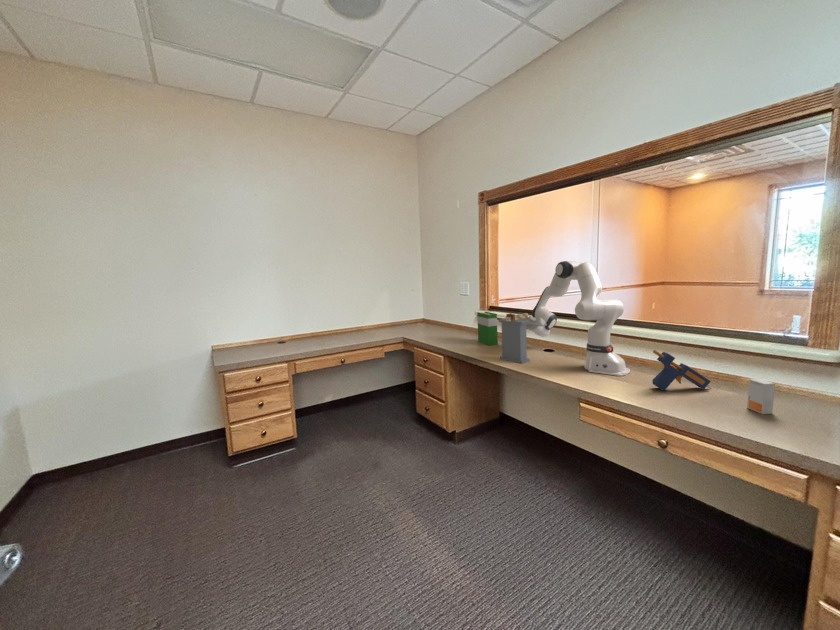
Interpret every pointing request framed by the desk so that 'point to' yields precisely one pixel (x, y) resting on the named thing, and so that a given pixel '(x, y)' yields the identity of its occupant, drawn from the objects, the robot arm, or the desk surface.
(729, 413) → the desk surface
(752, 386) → the skincare box
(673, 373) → the glue gun
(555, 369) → the desk surface
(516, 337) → the stand
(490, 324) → the green white box
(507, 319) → the marking gauge
